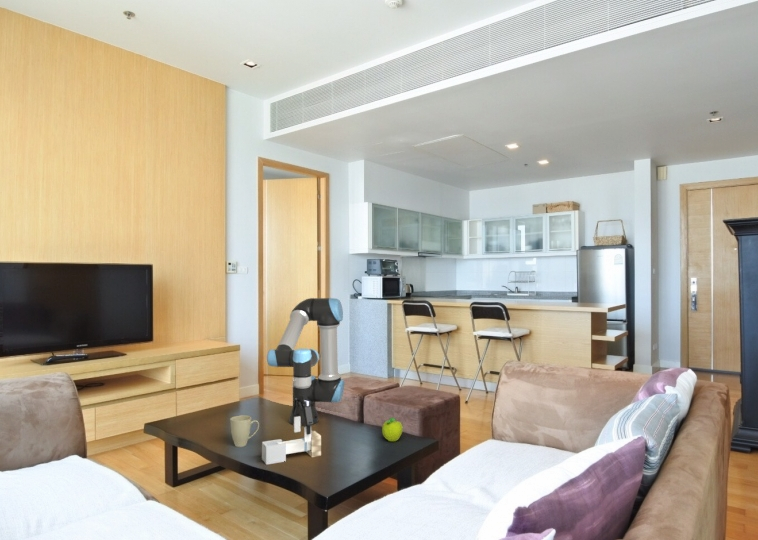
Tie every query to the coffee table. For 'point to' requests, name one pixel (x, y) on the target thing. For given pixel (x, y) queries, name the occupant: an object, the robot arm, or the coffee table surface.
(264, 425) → the coffee table surface
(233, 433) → the mug
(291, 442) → the blue-banded white bar
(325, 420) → the coffee table surface
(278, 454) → the sleeve
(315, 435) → the beige block
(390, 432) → the fruit
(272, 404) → the coffee table surface
